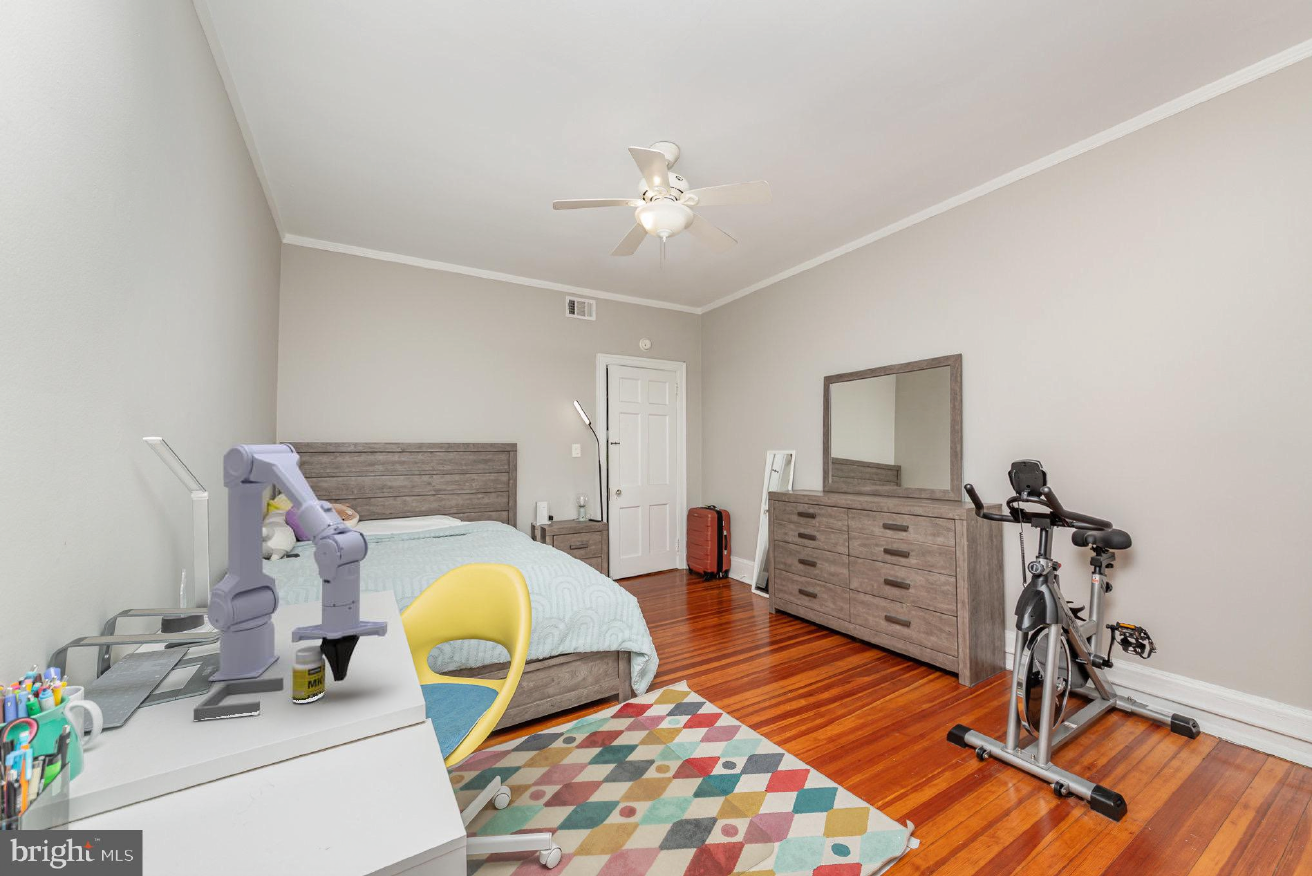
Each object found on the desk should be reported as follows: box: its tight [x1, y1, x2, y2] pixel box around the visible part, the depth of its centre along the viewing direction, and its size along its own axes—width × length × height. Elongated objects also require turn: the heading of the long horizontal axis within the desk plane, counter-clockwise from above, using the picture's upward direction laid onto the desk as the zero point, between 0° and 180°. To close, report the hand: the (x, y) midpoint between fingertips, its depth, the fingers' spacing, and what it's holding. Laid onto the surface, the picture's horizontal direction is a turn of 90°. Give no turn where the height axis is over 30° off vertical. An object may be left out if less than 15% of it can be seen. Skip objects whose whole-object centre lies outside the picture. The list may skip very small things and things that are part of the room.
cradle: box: [193, 677, 284, 721], centre depth 90 cm, size 9×9×2 cm
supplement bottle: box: [291, 645, 326, 701], centre depth 92 cm, size 5×5×8 cm
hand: (340, 678), depth 93 cm, fingers closed
